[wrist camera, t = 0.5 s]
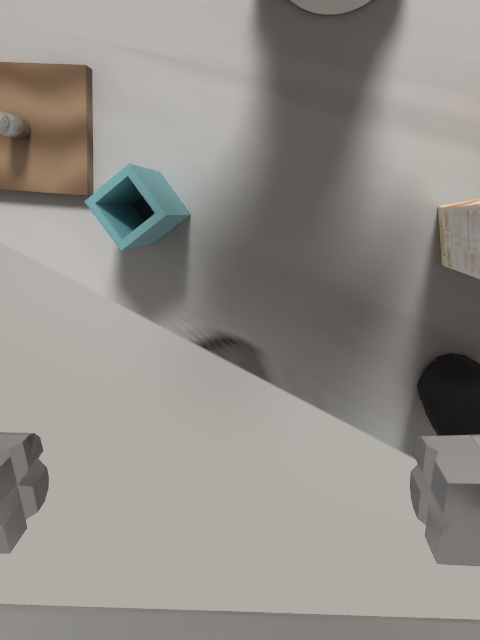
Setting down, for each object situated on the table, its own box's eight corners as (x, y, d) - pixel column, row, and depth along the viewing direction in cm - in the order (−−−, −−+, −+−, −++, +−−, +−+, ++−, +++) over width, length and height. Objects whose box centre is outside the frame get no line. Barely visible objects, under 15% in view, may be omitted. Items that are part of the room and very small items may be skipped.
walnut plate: (-37, 64, 53) (-47, 60, 52) (91, 69, 51) (85, 65, 50) (-28, 187, 57) (-37, 186, 55) (93, 195, 55) (87, 195, 53)
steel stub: (11, 117, 52) (-20, 107, 47) (30, 118, 52) (1, 108, 47) (12, 139, 53) (-18, 131, 48) (31, 140, 53) (3, 132, 48)
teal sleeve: (122, 203, 54) (84, 201, 45) (160, 172, 53) (128, 163, 43) (152, 244, 55) (121, 250, 46) (190, 214, 54) (166, 215, 44)
